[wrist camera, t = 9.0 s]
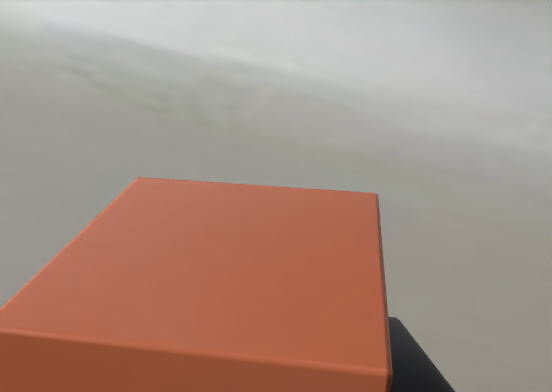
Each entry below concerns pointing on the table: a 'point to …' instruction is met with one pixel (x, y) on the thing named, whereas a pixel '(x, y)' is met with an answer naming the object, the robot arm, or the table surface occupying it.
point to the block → (208, 296)
